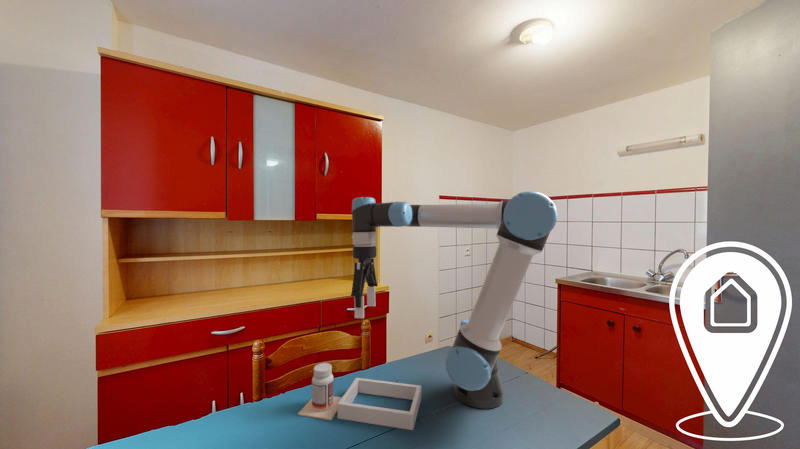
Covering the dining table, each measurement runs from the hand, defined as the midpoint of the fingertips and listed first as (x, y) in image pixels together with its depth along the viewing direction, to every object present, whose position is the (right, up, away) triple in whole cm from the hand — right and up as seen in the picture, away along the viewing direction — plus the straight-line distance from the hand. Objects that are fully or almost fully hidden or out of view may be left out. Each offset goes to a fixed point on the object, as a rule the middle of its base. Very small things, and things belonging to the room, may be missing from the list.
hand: (365, 311), depth 95 cm
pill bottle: (-12, -25, -8) cm, 29 cm away
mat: (-12, -26, -8) cm, 29 cm away
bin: (+6, -26, -9) cm, 28 cm away
